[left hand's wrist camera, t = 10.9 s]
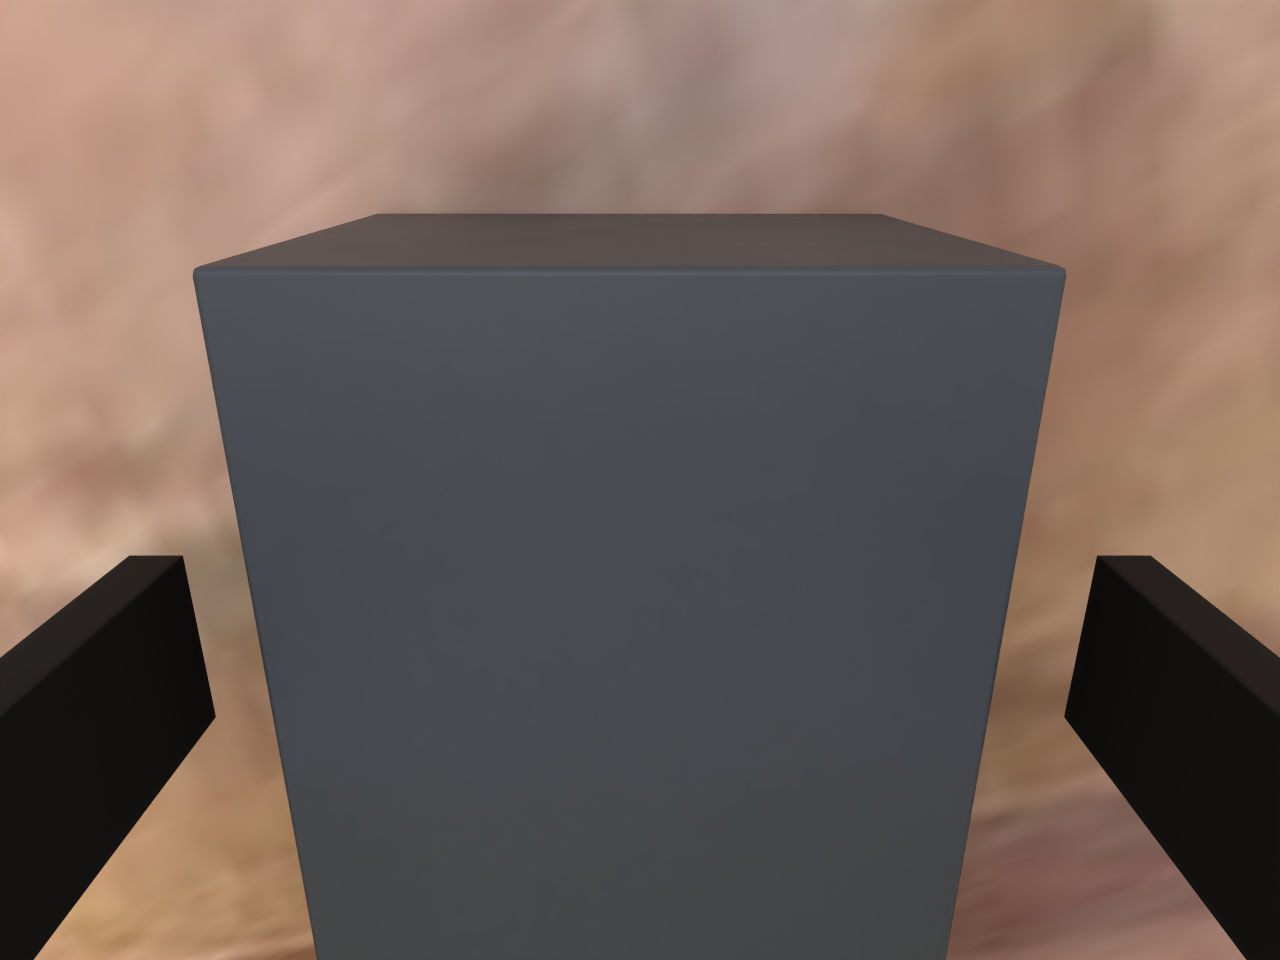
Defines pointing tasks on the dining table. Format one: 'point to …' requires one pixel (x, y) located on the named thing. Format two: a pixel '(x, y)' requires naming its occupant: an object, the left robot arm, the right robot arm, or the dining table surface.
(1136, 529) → the dining table surface
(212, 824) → the dining table surface
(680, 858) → the thick board
